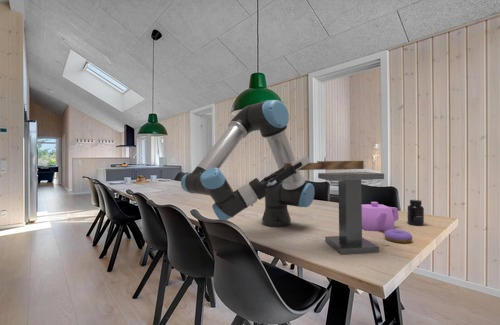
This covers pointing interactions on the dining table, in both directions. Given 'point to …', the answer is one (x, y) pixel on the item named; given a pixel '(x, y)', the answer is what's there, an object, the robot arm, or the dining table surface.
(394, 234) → the donut
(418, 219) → the supplement bottle
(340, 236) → the pedestal
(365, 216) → the teakettle
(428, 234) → the dining table surface
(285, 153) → the robot arm
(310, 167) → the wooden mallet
